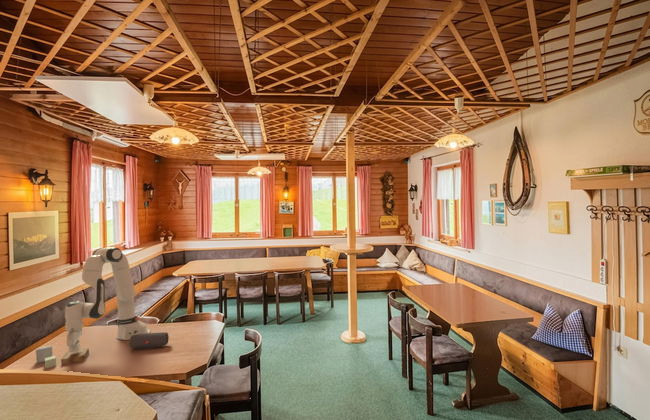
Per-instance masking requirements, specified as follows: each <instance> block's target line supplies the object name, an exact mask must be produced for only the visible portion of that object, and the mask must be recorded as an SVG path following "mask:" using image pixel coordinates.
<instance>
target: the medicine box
mask: <svg viewBox="0 0 650 420" xmlns="http://www.w3.org/2000/svg"><path fill="white" fill-rule="evenodd" d="M35 355H36V356H35V357H36V358H35V359H36V360H35V361H36V364H41V363H45V358H48V357H52V356H54V355H53V345H52V344H50V345H46V346H40V347H37V348H36V349H35Z"/></svg>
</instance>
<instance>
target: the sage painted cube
mask: <svg viewBox="0 0 650 420" xmlns="http://www.w3.org/2000/svg"><path fill="white" fill-rule="evenodd" d="M53 366H54V367H57V358H56V355H53V356H52V357H48V358H45V362H44V367H46V368H47V369H50V368H53ZM49 367H50V368H49ZM46 368H45V369H46Z"/></svg>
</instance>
